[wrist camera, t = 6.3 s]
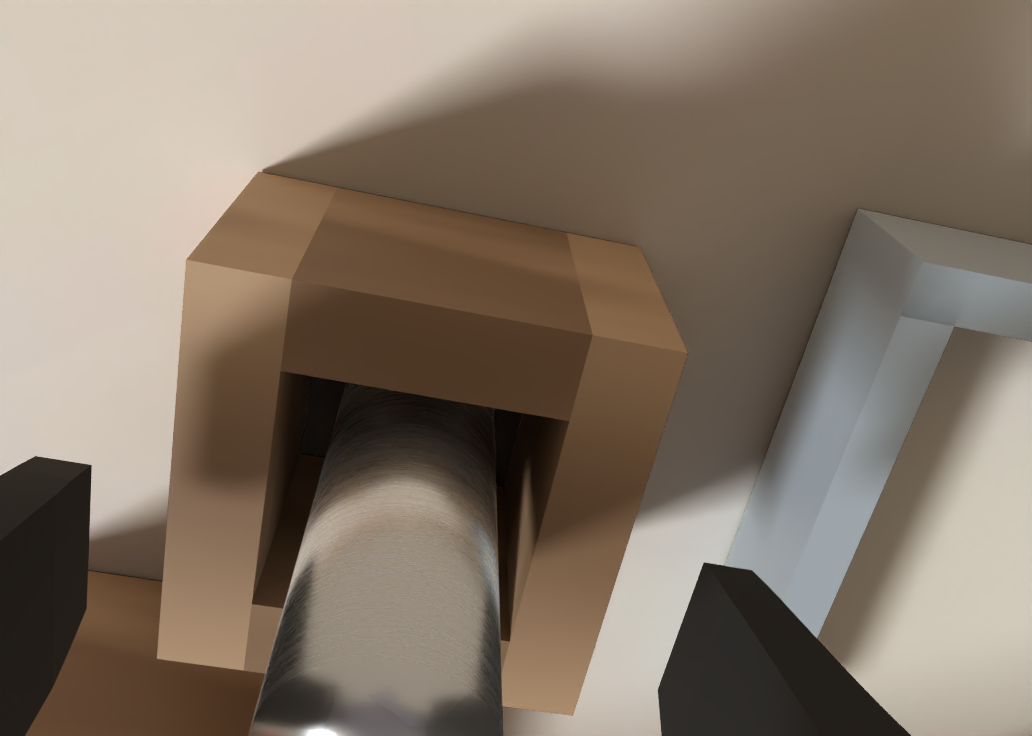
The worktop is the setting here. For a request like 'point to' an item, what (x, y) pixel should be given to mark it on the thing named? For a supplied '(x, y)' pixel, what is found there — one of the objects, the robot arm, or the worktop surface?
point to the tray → (868, 392)
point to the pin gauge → (394, 580)
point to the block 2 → (416, 370)
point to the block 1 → (139, 675)
